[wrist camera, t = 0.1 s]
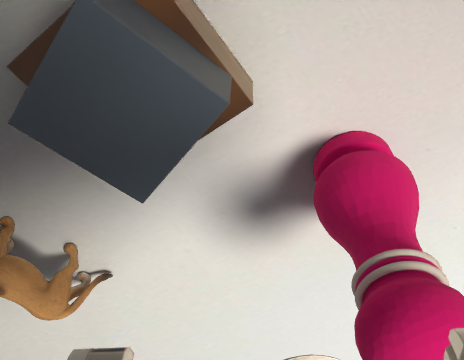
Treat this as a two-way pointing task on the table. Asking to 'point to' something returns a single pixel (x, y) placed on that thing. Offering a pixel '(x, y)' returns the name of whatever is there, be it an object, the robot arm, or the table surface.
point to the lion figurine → (41, 281)
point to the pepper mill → (384, 250)
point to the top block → (122, 95)
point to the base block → (181, 22)
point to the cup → (313, 358)
